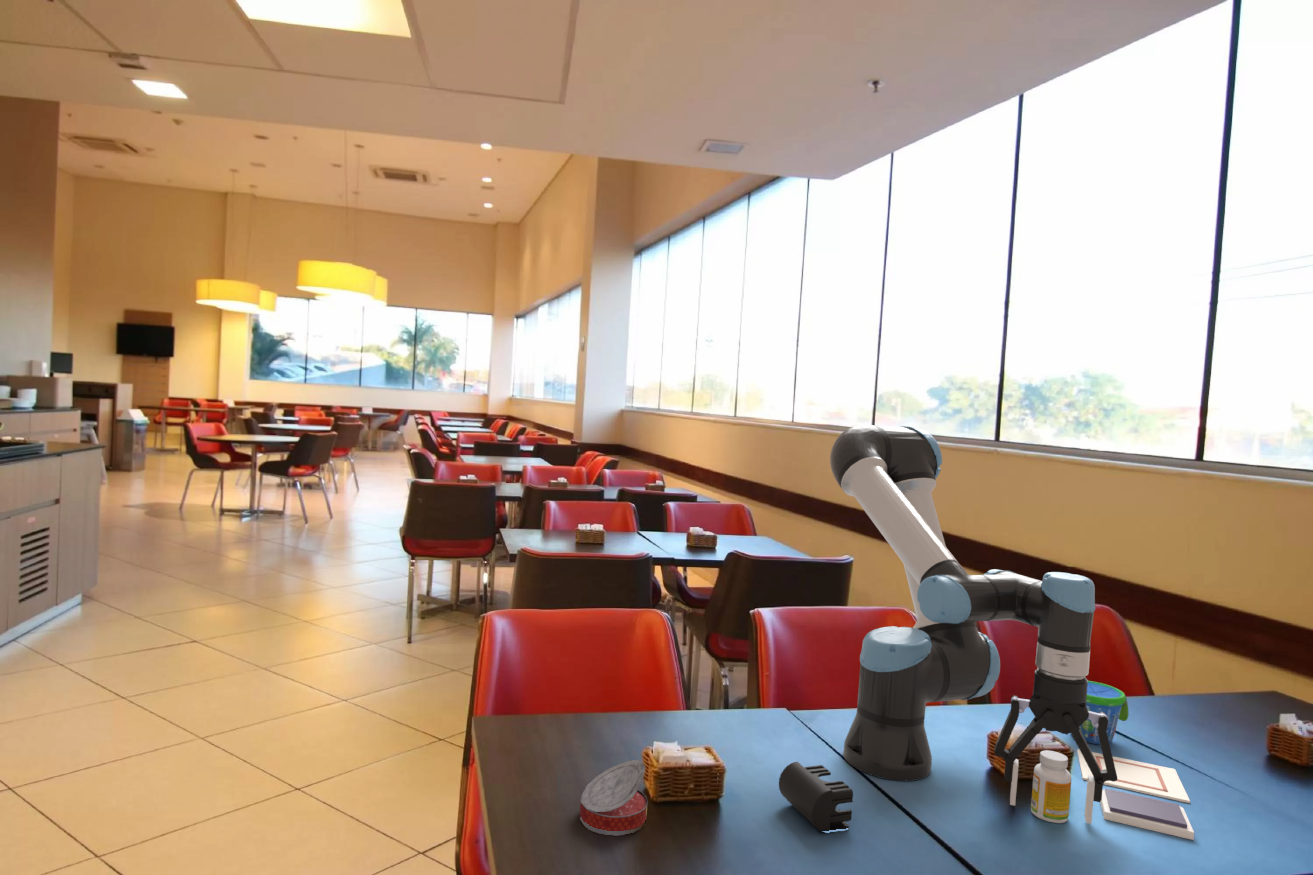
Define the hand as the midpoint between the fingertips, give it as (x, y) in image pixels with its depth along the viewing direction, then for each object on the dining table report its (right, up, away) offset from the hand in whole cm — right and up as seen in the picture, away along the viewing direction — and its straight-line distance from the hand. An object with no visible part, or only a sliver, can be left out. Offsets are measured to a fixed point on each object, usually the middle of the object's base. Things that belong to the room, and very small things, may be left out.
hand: (1049, 810), depth 127 cm
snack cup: (+25, -1, +34) cm, 42 cm away
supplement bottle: (0, -1, 0) cm, 1 cm away
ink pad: (+16, -2, +2) cm, 16 cm away
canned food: (-69, +3, -10) cm, 70 cm away
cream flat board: (+23, -2, +17) cm, 29 cm away
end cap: (-39, +1, -6) cm, 39 cm away
